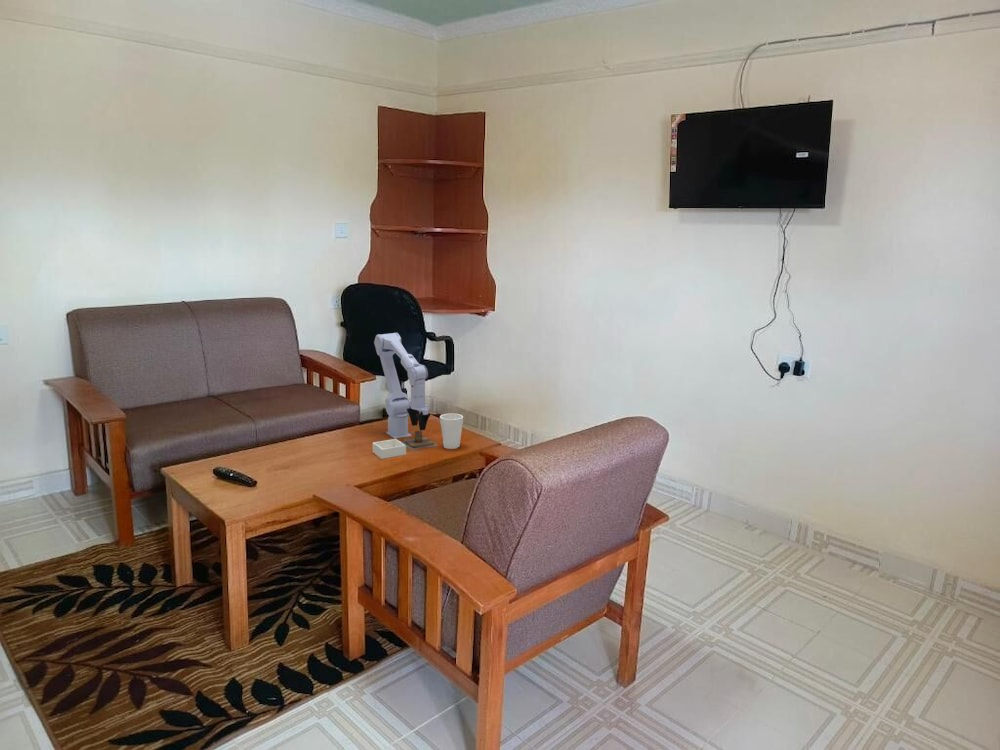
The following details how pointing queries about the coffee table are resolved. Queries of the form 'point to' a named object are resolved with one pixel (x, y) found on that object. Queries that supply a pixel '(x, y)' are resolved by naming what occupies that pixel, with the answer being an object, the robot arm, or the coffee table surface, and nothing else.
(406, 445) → the mat
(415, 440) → the lid
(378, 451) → the white open box
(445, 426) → the foam cup
